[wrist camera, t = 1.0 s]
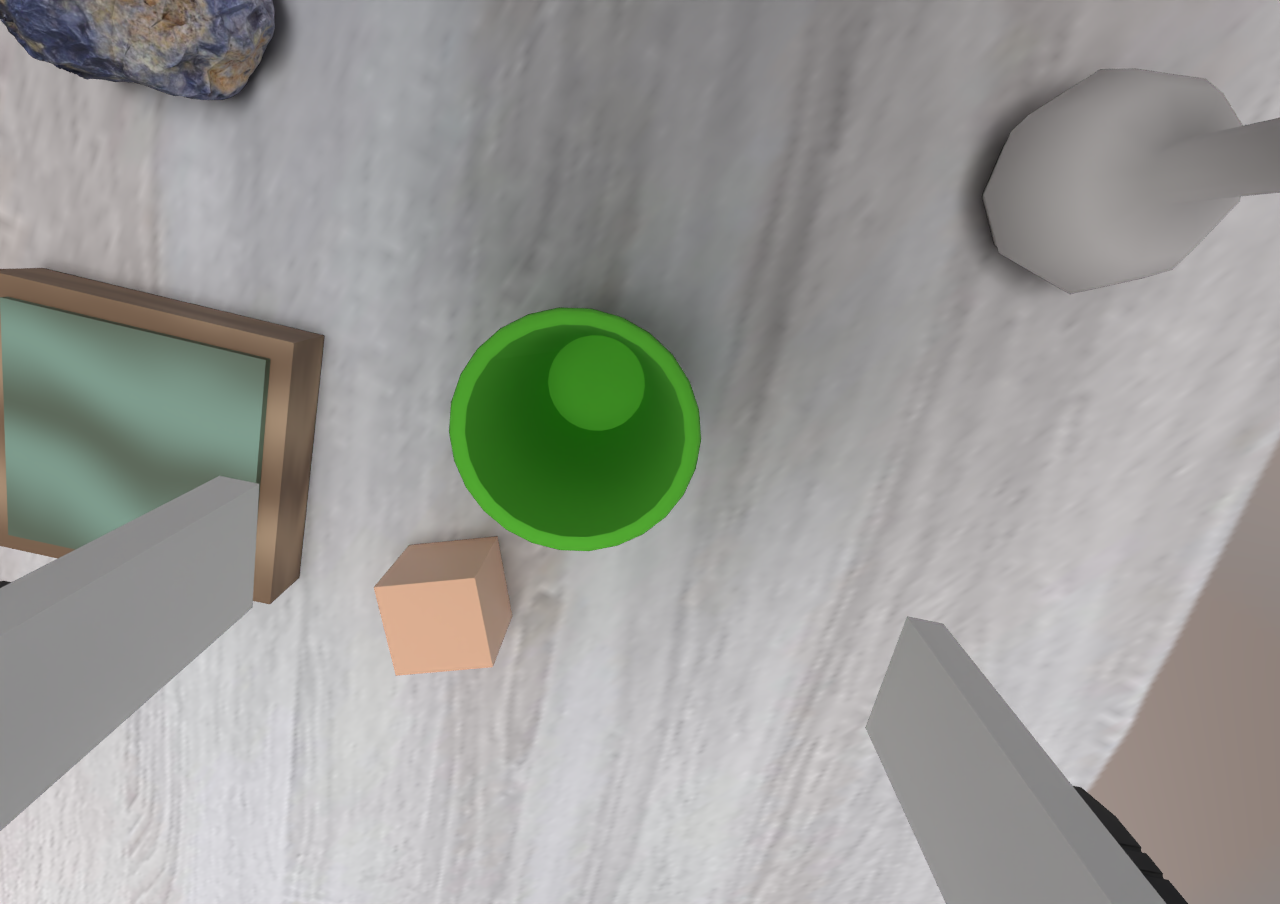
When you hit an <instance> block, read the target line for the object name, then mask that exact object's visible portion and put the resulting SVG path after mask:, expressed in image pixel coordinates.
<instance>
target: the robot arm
mask: <svg viewBox="0 0 1280 904" xmlns="http://www.w3.org/2000/svg"><path fill="white" fill-rule="evenodd" d="M258 497H259V484H257V483H252V482H247V481H242V480H237V479H233V478H228V477H223V476H218V477H216V478H214V479H212V480H210V481H208V482H206V483H205V484H203V485H201V486H199V487H197V488H195V489H193V490H191V491H189V492H187V493H185V494H183V495H181V496H179V497H177V498H175V499H173V500H171V501H169V502H167V503H165V504H164V505H162V506H160V507H158V508H156V509H154V510H152V511H150V512H148V513H146V514H144V515H142V516H140V517H138V518H136V519H134V520H132V521H130V522H128V523H126V524H124V525H123V526H121V527H119V528H117V529H115V530H113V531H111V532H109V533H107V534H105V535H103V536H101V537H99V538H97V539H95V540H93V541H91V542H89V543H87V544H85V545H83V546H82V547H80V548H78V549H76V550H74V551H72V552H70V553H68V554H66V555H64V556H62V557H60V558H58V559H56V560H54V561H52V562H50V563H48V564H46V565H44V566H43V567H41V568H39V569H37V570H35V571H33V572H31V573H29V574H27V575H25V576H23V577H21V578H19V579H17V580H15V581H13V582H7V581H1V582H0V831H1V830H2V829H3V828H4V827H5V826H7V825H8V824H9V823H10V822H11V821H12V820H13V819H14V818H16V817H17V816H18V815H19V814H20V813H21V812H22V811H23V810H25V809H26V808H27V807H28V806H29V805H30V804H31V803H32V802H34V801H35V800H36V799H37V798H38V797H39V796H40V795H42V794H43V793H44V792H45V791H46V790H47V789H48V788H49V787H51V786H52V785H53V784H54V783H55V782H56V781H57V780H58V779H60V778H61V777H62V776H63V775H64V774H65V773H66V772H67V771H69V770H70V769H71V768H72V767H73V766H74V765H75V764H76V763H78V762H79V761H80V760H81V759H82V758H83V757H84V756H86V755H87V754H88V753H89V752H90V751H91V750H92V749H93V748H95V747H96V746H97V745H98V744H99V743H100V742H101V741H102V740H104V739H105V738H106V737H107V736H108V735H109V734H110V733H111V732H113V731H114V730H115V729H116V728H117V727H118V726H119V725H120V724H122V723H123V722H124V721H125V720H126V719H127V718H128V717H130V716H131V715H132V714H133V713H134V712H135V711H136V710H137V709H139V708H140V707H141V706H142V705H143V704H144V703H145V702H146V701H148V700H149V699H150V698H151V697H152V696H153V695H154V694H155V693H157V692H158V691H159V690H160V689H161V688H162V687H163V686H164V685H166V684H167V683H168V682H169V681H170V680H171V679H172V678H174V677H175V676H176V675H177V674H178V673H179V672H180V671H181V670H183V669H184V668H185V667H186V666H187V665H188V664H189V663H190V662H192V661H193V660H194V659H195V658H196V657H197V656H198V655H199V654H201V653H202V652H203V651H204V650H205V649H206V648H207V647H208V646H210V645H211V644H212V643H213V642H214V641H215V640H216V639H218V638H219V637H220V636H221V635H222V634H223V633H224V632H225V631H227V630H228V629H229V628H230V627H231V626H232V625H233V624H234V623H236V622H237V621H238V620H239V619H240V618H241V617H242V616H243V615H245V614H246V613H247V612H248V611H249V610H250V609H251V608H252V605H253V587H254V569H255V551H256V533H257V515H258ZM865 728H866V730H867V732H868V734H869V736H870V738H871V741H872V743H873V745H874V747H875V749H876V752H877V754H878V756H879V758H880V760H881V763H882V765H883V767H884V769H885V771H886V773H887V776H888V778H889V780H890V782H891V784H892V787H893V789H894V791H895V793H896V795H897V798H898V800H899V802H900V804H901V806H902V808H903V811H904V813H905V815H906V817H907V819H908V822H909V824H910V826H911V828H912V830H913V833H914V835H915V837H916V839H917V841H918V843H919V846H920V848H921V850H922V852H923V854H924V857H925V859H926V861H927V863H928V865H929V867H930V870H931V872H932V874H933V876H934V878H935V881H936V883H937V885H938V887H939V889H940V892H941V894H942V896H943V898H944V900H945V902H946V904H1188V903H1187V902H1186V901H1185V899H1184V898H1183V897H1182V896H1181V895H1180V893H1179V892H1178V891H1177V890H1176V889H1175V888H1174V886H1173V885H1172V884H1171V883H1170V881H1169V880H1165V879H1163V876H1162V875H1163V873H1162V872H1161V871H1160V869H1159V868H1158V867H1157V866H1156V865H1155V863H1154V862H1153V861H1152V860H1151V858H1150V857H1149V856H1148V855H1147V854H1146V853H1142V852H1141V846H1140V845H1139V844H1138V843H1137V842H1136V840H1135V839H1134V838H1133V837H1132V836H1131V834H1130V833H1129V832H1128V831H1127V830H1126V828H1125V827H1124V826H1123V825H1122V824H1121V823H1120V821H1119V820H1118V819H1117V818H1116V816H1114V815H1113V814H1112V813H1111V812H1110V811H1109V810H1107V809H1106V808H1105V807H1104V806H1103V805H1101V804H1100V803H1099V802H1098V801H1097V800H1095V799H1094V798H1093V797H1092V796H1091V795H1090V794H1088V793H1087V792H1086V791H1085V790H1084V789H1082V788H1081V787H1075V786H1072V785H1071V784H1070V782H1069V781H1068V780H1067V778H1066V777H1065V776H1064V775H1063V773H1062V772H1061V771H1060V770H1059V768H1058V767H1057V766H1056V765H1055V763H1054V762H1053V761H1052V760H1051V758H1050V757H1049V756H1048V755H1047V753H1046V752H1045V751H1044V750H1043V748H1042V747H1041V746H1040V745H1039V743H1038V742H1037V741H1036V740H1035V738H1034V737H1033V736H1032V735H1031V733H1030V732H1029V731H1028V730H1027V728H1026V727H1025V726H1024V725H1023V723H1022V722H1021V721H1020V720H1019V718H1018V717H1017V716H1016V715H1015V713H1014V712H1013V711H1012V709H1011V708H1010V707H1009V706H1008V704H1007V703H1006V702H1005V701H1004V699H1003V698H1002V697H1001V696H1000V694H999V693H998V692H997V691H996V689H995V688H994V687H993V686H992V684H991V683H990V682H989V681H988V679H987V678H986V677H985V676H984V674H983V673H982V672H981V671H980V669H979V668H978V667H977V666H976V664H975V663H974V662H973V661H972V659H971V658H970V657H969V656H968V654H967V653H966V652H965V651H964V649H963V648H962V647H961V645H960V644H959V643H958V642H957V640H956V639H955V638H954V637H953V635H952V634H951V633H950V632H949V630H948V629H947V628H946V627H945V625H944V624H942V623H937V622H932V621H927V620H922V619H917V618H913V617H908V616H907V618H906V621H905V624H904V626H903V629H902V632H901V634H900V637H899V640H898V642H897V645H896V648H895V650H894V653H893V656H892V658H891V661H890V664H889V666H888V669H887V671H886V674H885V677H884V679H883V682H882V685H881V687H880V690H879V693H878V695H877V698H876V701H875V703H874V706H873V709H872V711H871V714H870V717H869V719H868V722H867V725H866V727H865Z"/></svg>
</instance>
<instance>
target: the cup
mask: <svg viewBox="0 0 1280 904" xmlns="http://www.w3.org/2000/svg"><path fill="white" fill-rule="evenodd" d="M449 434H450V440H451V445H452V451H453V457H454V461H455V464H456V466H457V468H458V470H459V473H460V475H461V477H462V479H463V482H464V484H465V486H466V488H467V489H468V491H469V492H470V493H471V495H472V496H473V497H474V499H475V500H476V501H477V502H478V504H479V505H480V506H481V508H482V509H483V510H484V511H485V512H486V513H487V514H488V515H489V516H491V517H492V518H493V519H494V520H495V521H497V522H498V523H499V524H500V525H501V526H503V527H504V528H505V529H506V530H508V531H510V532H512V533H514V534H516V535H518V536H520V537H522V538H524V539H526V540H528V541H530V542H531V543H535V544H539V545H542V546H546V547H550V548H554V549H558V550H574V551H592V550H597V549H602V548H607V547H613V546H617V545H620V544H622V543H624V542H626V541H629V540H631V539H633V538H635V537H638V536H640V535H642V534H644V533H645V532H647V531H648V530H649V529H651V528H652V527H653V526H654V525H656V524H657V523H658V522H660V521H661V520H662V519H664V518H665V517H666V516H667V515H668V514H669V512H670V511H671V510H672V509H673V507H674V506H675V505H676V504H677V502H678V501H679V500H680V499H681V497H682V496H683V495H684V493H685V491H686V489H687V486H688V484H689V482H690V480H691V478H692V476H693V473H694V471H695V469H696V464H697V459H698V454H699V448H700V443H701V432H700V417H699V409H698V406H697V403H696V400H695V397H694V393H693V390H692V387H691V384H690V381H689V380H688V378H687V377H686V375H685V373H684V372H683V370H682V369H681V367H680V366H679V364H678V362H677V361H676V359H675V358H674V356H673V355H672V354H671V353H670V352H669V351H668V350H667V349H666V348H665V347H664V346H663V345H662V344H661V343H660V342H659V341H658V340H657V339H655V338H654V337H653V336H652V335H651V334H650V333H649V332H647V331H645V330H643V329H642V328H640V327H638V326H636V325H635V324H633V323H631V322H629V321H628V320H626V319H624V318H622V317H619V316H615V315H612V314H608V313H605V312H601V311H598V310H594V309H587V308H555V309H551V310H546V311H541V312H537V313H532V314H528V315H526V316H524V317H522V318H520V319H518V320H516V321H514V322H512V323H510V324H508V325H506V326H504V327H502V328H500V329H499V330H498V331H497V332H496V333H495V334H494V335H492V336H491V337H490V338H489V339H488V340H487V341H486V342H485V343H483V344H482V345H481V346H480V347H479V348H478V349H477V350H476V352H475V353H474V355H473V356H472V358H471V359H470V361H469V362H468V364H467V365H466V367H465V368H464V370H463V371H462V373H461V375H460V378H459V381H458V384H457V387H456V389H455V392H454V395H453V398H452V401H451V411H450V425H449Z"/></svg>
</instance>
